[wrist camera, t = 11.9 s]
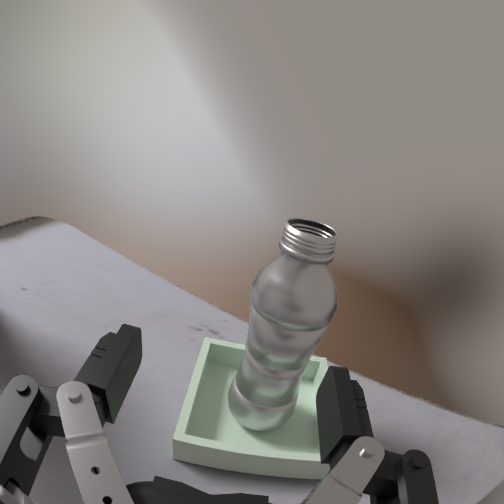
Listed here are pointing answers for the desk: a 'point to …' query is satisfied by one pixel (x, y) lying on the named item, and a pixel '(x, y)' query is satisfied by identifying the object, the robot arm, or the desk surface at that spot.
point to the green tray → (239, 437)
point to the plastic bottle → (284, 325)
